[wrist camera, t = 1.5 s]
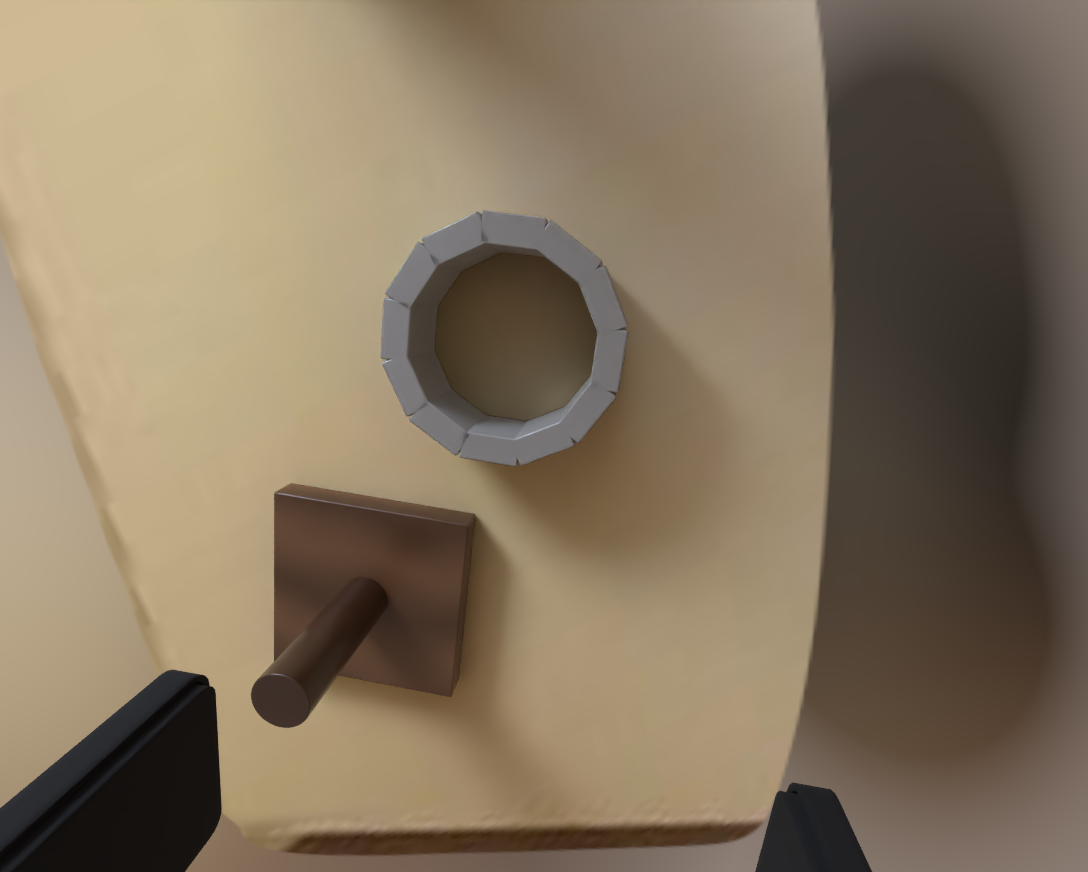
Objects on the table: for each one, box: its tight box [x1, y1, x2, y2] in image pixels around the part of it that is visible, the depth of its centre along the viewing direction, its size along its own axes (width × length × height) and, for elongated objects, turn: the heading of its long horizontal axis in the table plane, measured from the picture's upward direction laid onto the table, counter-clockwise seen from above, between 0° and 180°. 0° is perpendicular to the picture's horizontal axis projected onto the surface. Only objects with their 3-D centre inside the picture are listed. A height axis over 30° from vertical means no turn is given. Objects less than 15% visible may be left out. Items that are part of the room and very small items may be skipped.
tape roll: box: [381, 211, 628, 466], centre depth 24 cm, size 10×10×4 cm
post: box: [251, 483, 475, 728], centre depth 25 cm, size 10×10×9 cm
